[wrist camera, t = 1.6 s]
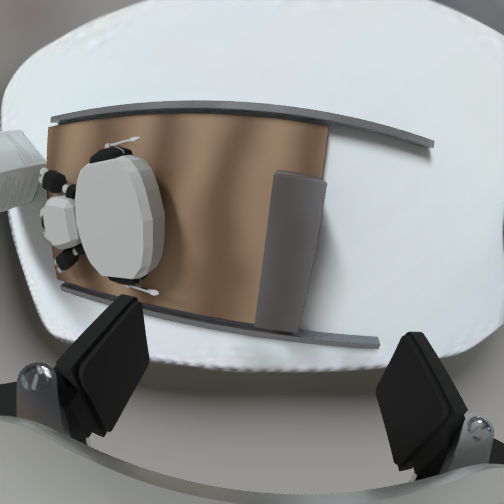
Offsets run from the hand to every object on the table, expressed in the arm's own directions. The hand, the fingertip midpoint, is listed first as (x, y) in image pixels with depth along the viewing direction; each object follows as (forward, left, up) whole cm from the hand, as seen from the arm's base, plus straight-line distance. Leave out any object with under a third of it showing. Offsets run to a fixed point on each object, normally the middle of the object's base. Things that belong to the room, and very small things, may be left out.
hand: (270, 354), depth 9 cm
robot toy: (+16, 0, -14) cm, 22 cm away
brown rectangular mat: (+11, 0, -15) cm, 19 cm away
